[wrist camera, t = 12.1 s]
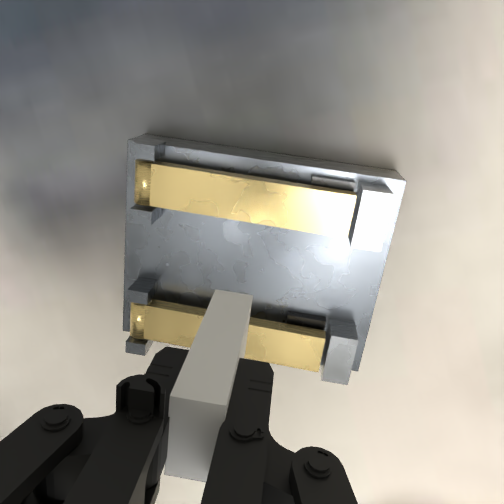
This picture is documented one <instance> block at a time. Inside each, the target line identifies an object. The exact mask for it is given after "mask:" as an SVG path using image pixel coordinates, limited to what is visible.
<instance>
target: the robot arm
mask: <svg viewBox="0 0 504 504" xmlns="http://www.w3.org/2000/svg"><path fill="white" fill-rule="evenodd" d="M252 298H253V295H248V294H241V293H235V292H229V291H222V290H216V289H215V292H214V294H213V296H212V299H211V301H210V303H209V306H208V308H207V310H206V313H205V315H204V317H203V320H202V322H201V324H200V327H199V329H198V331H197V334H196V336H195V338H194V341H193V343H192V345H191V348H190V350H184V349H178V348H172V347H165V348H164V349H162V350H161V351H159V352H158V353H157V354H156V355H155V356H154V358H153V360H152V362H151V364H150V366H149V367H148V369H147V371H146V374H145V375H134V376H130V377H128V378H126V379H123V380H122V381H121V382H120V383H119V384H118V385H117V386H116V412H115V413H114V414H112V415H109V416H105V417H97V418H83V414H82V413H81V411H80V410H79V409H78V408H76V407H75V406H72V405H67V404H56V405H52V406H48V407H45V408H43V409H41V410H40V411H38V412H36V413H35V414H34V415H32V416H31V417H30V418H29V419H28V420H26V421H25V422H24V423H23V424H21V425H20V426H19V427H18V428H16V429H15V430H14V431H13V432H12V433H10V434H9V435H8V436H7V437H5V438H4V439H3V440H2V441H0V504H155V501H156V498H157V495H158V492H159V486H160V475H161V473H162V470H163V467H164V464H165V472H164V475H169V476H175V477H180V478H186V479H191V480H197V481H202V482H206V485H205V489H204V493H203V497H202V501H201V504H358V503H357V500H356V498H355V495H354V493H353V490H352V488H351V485H350V482H349V480H348V477H347V475H346V472H345V470H344V467H343V465H342V464H341V462H340V460H339V459H338V458H337V457H336V456H335V455H334V454H332V453H331V452H329V451H327V450H325V449H323V448H319V447H312V446H311V447H305V448H302V449H300V450H299V451H297V452H296V453H294V452H292V451H290V450H287V449H286V448H284V447H282V446H280V445H279V444H278V443H277V442H276V441H275V440H274V439H273V437H272V436H271V434H270V432H269V425H268V424H269V415H270V405H271V395H272V386H273V376H274V372H273V370H272V368H271V366H270V364H269V363H268V362H262V361H256V360H250V359H244V356H245V349H246V342H247V335H248V327H249V320H250V313H251V305H252Z"/></svg>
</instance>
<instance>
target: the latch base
mask: <svg viewBox="0 0 504 504" xmlns="http://www.w3.org/2000/svg"><path fill="white" fill-rule="evenodd" d="M136 159H145V160H151V161H155V160H156V161H161V162H167V163H174V164H180V165H186V166H193V167H199V168H205V169H212V170H218V171H225V172H231V173H237V174H244V175H250V176H256V177H263V178H269V179H276V180H282V181H288V182H295V183H301V184H307V185H314V186H320V187H327V188H333V189H339V190H346V191H352V192H355V193H356V200H355V205H354V210H353V214H352V219H351V224H350V228H349V233H348V237H347V239H345V238H339V237H333V236H327V235H321V234H315V233H309V232H303V231H297V230H291V229H285V228H279V227H273V226H267V225H261V224H255V223H249V222H243V221H237V220H231V219H225V218H219V217H213V216H207V215H201V214H195V213H189V212H183V211H177V210H171V209H165V208H159V207H153V206H142V205H138V204H135V203H134V189H135V160H136ZM405 184H406V180H405V179H404V178H403V177H402V176H401V175H400V174H399V173H398V172H397V171H396V170H389V169H382V168H376V167H369V166H362V165H355V164H348V163H341V162H334V161H328V160H321V159H314V158H307V157H300V156H293V155H287V154H280V153H273V152H266V151H259V150H252V149H245V148H239V147H232V146H225V145H218V144H211V143H204V142H198V141H191V140H184V139H177V138H170V137H163V136H156V135H150V134H144V135H141V136H138V137H135V138H132V139H129V140H128V149H127V189H126V228H125V268H124V307H123V331H129V332H130V314H131V302H133V303H139V304H145V305H148V303H149V302H150V301H151V299H156V300H161V301H166V302H172V303H177V304H183V305H188V306H194V307H199V308H204V309H207V308H208V306H209V303H210V301H211V299H212V296H213V294H214V292H215V289H216V290H222V291H229V292H235V293H241V294H248V295H253V298H252V305H251V313H250V317H253V318H259V319H264V320H269V321H275V322H280V323H286V324H291V325H297V326H302V327H307V328H313V329H318V330H324V331H325V344H324V348H323V353H322V357H321V362H320V365H321V380H322V381H328V382H333V383H339V384H345V385H348V381H349V377H350V373H351V370H353V371H358V369H359V365H360V361H361V357H362V353H363V350H364V346H365V342H366V338H367V334H368V330H369V326H370V322H371V318H372V314H373V310H374V306H375V302H376V298H377V294H378V291H379V287H380V283H381V279H382V275H383V271H384V267H385V263H386V259H387V255H388V251H389V247H390V243H391V239H392V236H393V232H394V228H395V224H396V220H397V216H398V212H399V208H400V204H401V200H402V196H403V192H404V188H405ZM152 343H153V340H148V339H135V338H133V337H131V336H129V338H128V339H127V341H126V352H127V353H133V354H138V355H144V356H145V355H146V353H147V351H148V350H149V348H150V346H151V345H152Z"/></svg>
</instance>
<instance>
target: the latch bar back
mask: <svg viewBox="0 0 504 504" xmlns="http://www.w3.org/2000/svg"><path fill="white" fill-rule="evenodd" d="M206 310H207V309H204V308H199V307H194V306H188V305H183V304H177V303H172V302H166V301H161V300H156V299H151V301H150V302H149V303H148V305H145V304H139V303H133V302H131V314H130V336H131V337H133V338H135V339H148V340H153V341H159V342H164V343H169V344H174V345H179V346H185V347H190V348H191V345H192V343H193V341H194V338H195V336H196V334H197V331H198V329H199V327H200V324H201V322H202V320H203V317H204V315H205V313H206ZM324 344H325V331H324V330H318V329H313V328H307V327H302V326H297V325H291V324H286V323H280V322H275V321H269V320H264V319H259V318H253V317H250V320H249V327H248V335H247V342H246V349H245V356H244V358H247V359H252V360H257V361H262V362H268V363H273V364H278V365H283V366H288V367H293V368H299V369H304V370H309V371H314V372H318V371H319V367H320V362H321V357H322V353H323V348H324Z"/></svg>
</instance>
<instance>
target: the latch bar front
mask: <svg viewBox="0 0 504 504" xmlns="http://www.w3.org/2000/svg"><path fill="white" fill-rule="evenodd" d="M355 200H356V193H355V192H352V191H346V190H339V189H333V188H327V187H320V186H314V185H307V184H301V183H295V182H288V181H282V180H276V179H269V178H263V177H256V176H250V175H244V174H237V173H231V172H225V171H218V170H212V169H205V168H199V167H193V166H186V165H180V164H174V163H167V162H161V161H156V160H155V161H151V160H145V159H136V160H135V189H134V203H135V204H138V205H142V206H153V207H159V208H165V209H171V210H177V211H183V212H189V213H195V214H201V215H207V216H213V217H219V218H225V219H231V220H237V221H243V222H249V223H255V224H261V225H267V226H273V227H279V228H285V229H291V230H297V231H303V232H309V233H315V234H321V235H327V236H333V237H339V238H345V239H347V237H348V233H349V228H350V224H351V219H352V214H353V210H354V205H355Z"/></svg>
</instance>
